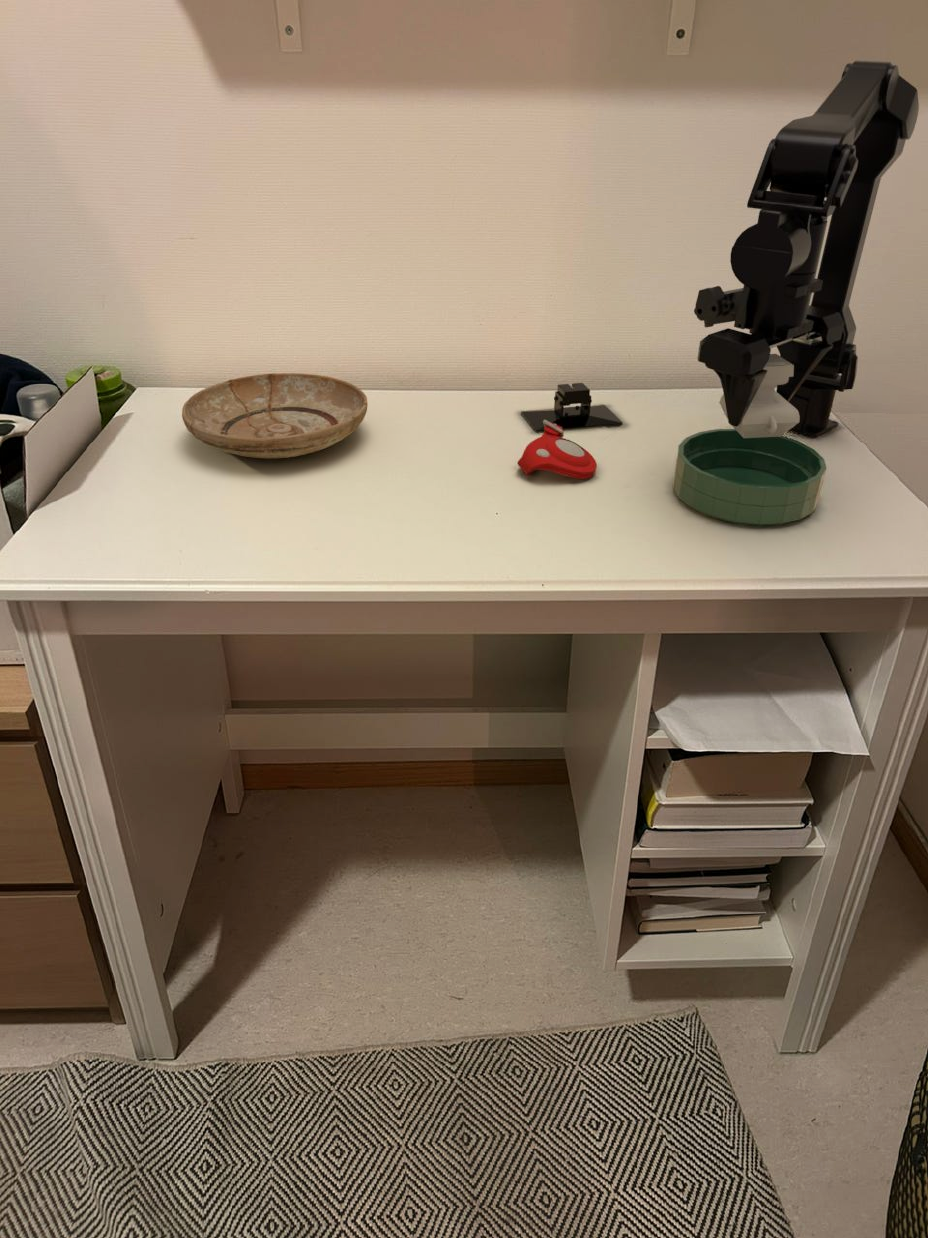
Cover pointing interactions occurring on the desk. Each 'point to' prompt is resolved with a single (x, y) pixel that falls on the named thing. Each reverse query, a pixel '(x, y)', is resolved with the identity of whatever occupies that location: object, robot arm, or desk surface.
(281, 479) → the desk surface
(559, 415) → the build plate
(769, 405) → the stamp
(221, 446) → the ceramic bowl
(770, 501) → the green bowl
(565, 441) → the tracker holder
